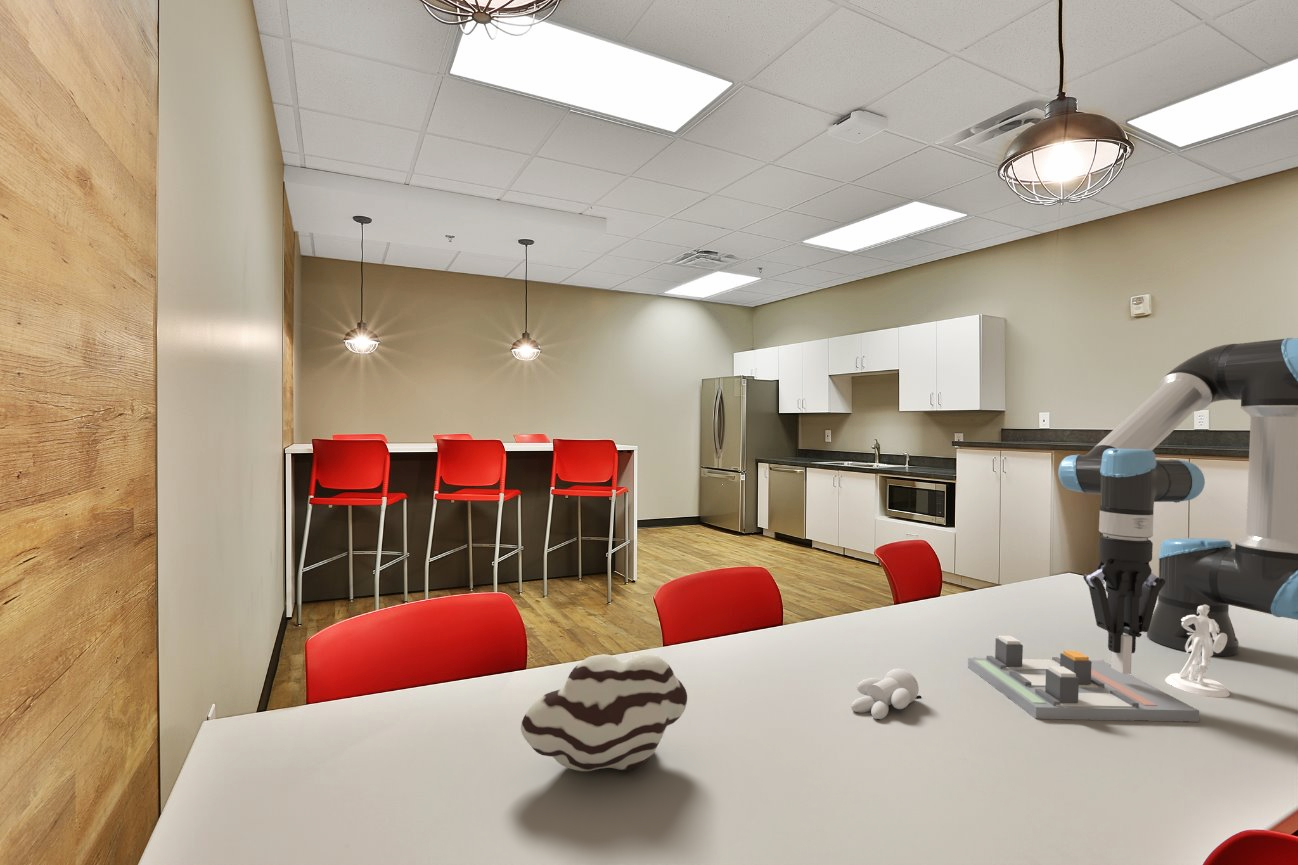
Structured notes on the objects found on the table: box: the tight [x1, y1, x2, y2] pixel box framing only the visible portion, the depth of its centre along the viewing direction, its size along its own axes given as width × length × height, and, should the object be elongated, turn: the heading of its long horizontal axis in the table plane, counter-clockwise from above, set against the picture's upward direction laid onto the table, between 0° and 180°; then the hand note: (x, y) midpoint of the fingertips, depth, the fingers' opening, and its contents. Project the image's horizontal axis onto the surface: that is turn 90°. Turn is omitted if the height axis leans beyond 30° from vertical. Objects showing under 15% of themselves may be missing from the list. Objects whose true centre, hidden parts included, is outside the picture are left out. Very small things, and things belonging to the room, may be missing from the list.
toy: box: [850, 668, 922, 720], centre depth 103 cm, size 8×6×15 cm
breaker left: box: [994, 635, 1024, 667], centre depth 117 cm, size 3×4×5 cm
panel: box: [967, 655, 1200, 723], centre depth 110 cm, size 26×21×2 cm
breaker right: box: [1045, 666, 1079, 703], centre depth 102 cm, size 3×4×5 cm
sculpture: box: [520, 653, 688, 772], centre depth 82 cm, size 22×12×15 cm, turn 106°
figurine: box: [1165, 605, 1231, 698], centre depth 114 cm, size 9×9×15 cm
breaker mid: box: [1059, 650, 1092, 684], centre depth 110 cm, size 3×4×5 cm
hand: (1120, 670), depth 110 cm, fingers closed
